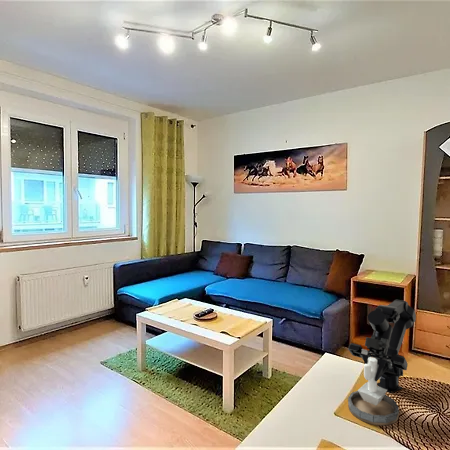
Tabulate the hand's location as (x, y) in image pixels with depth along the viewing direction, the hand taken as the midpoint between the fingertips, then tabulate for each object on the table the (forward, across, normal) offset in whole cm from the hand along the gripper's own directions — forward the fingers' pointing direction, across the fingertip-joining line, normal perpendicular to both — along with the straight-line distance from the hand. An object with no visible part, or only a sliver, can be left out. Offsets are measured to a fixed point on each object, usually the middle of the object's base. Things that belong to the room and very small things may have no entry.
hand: (371, 379), depth 113 cm
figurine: (+5, 0, +7) cm, 8 cm away
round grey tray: (+8, 0, +9) cm, 12 cm away
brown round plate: (+8, 0, +9) cm, 12 cm away
